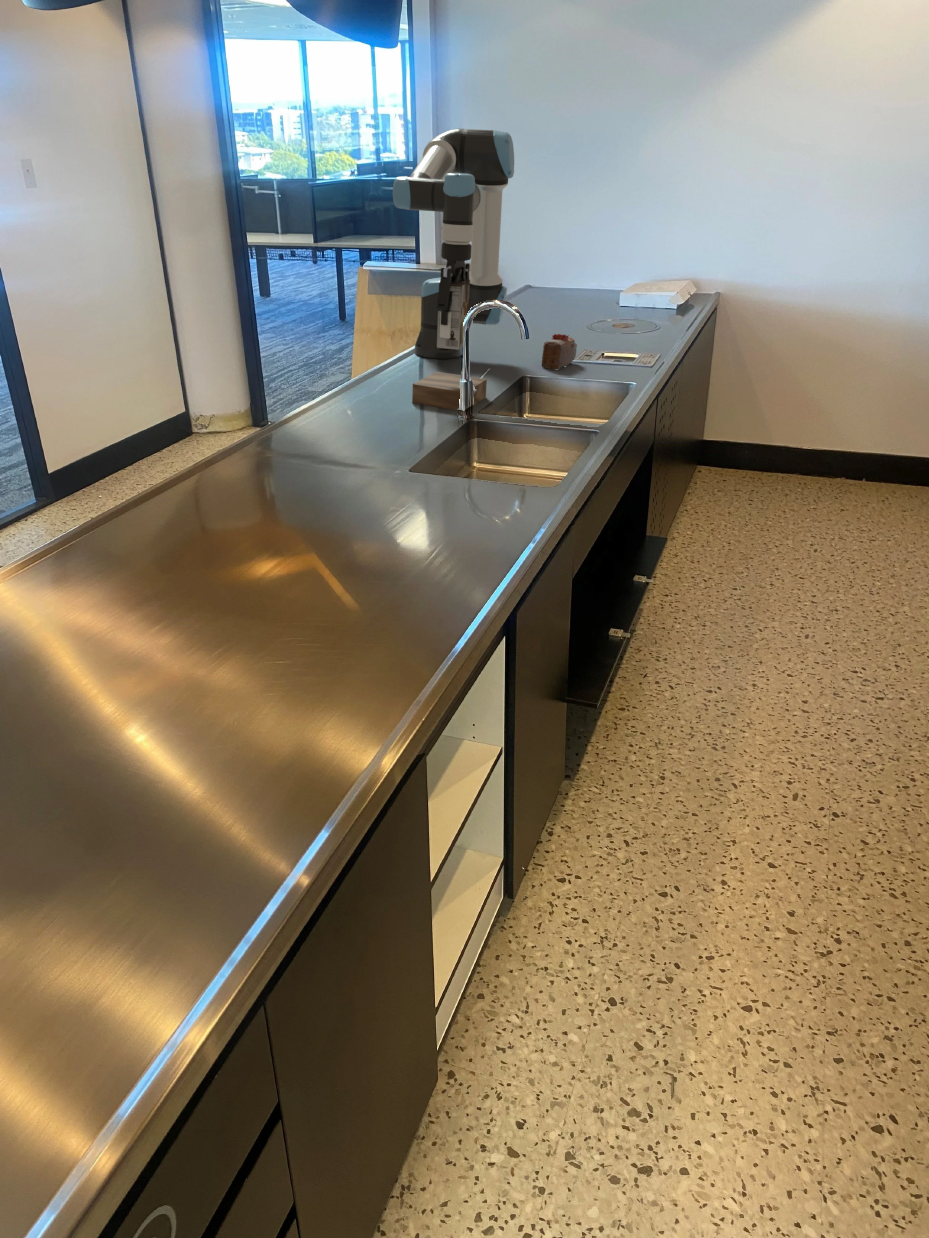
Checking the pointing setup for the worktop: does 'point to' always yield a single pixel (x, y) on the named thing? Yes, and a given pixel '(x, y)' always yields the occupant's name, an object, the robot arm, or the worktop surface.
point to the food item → (558, 352)
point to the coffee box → (456, 316)
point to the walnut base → (444, 390)
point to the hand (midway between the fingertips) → (452, 334)
